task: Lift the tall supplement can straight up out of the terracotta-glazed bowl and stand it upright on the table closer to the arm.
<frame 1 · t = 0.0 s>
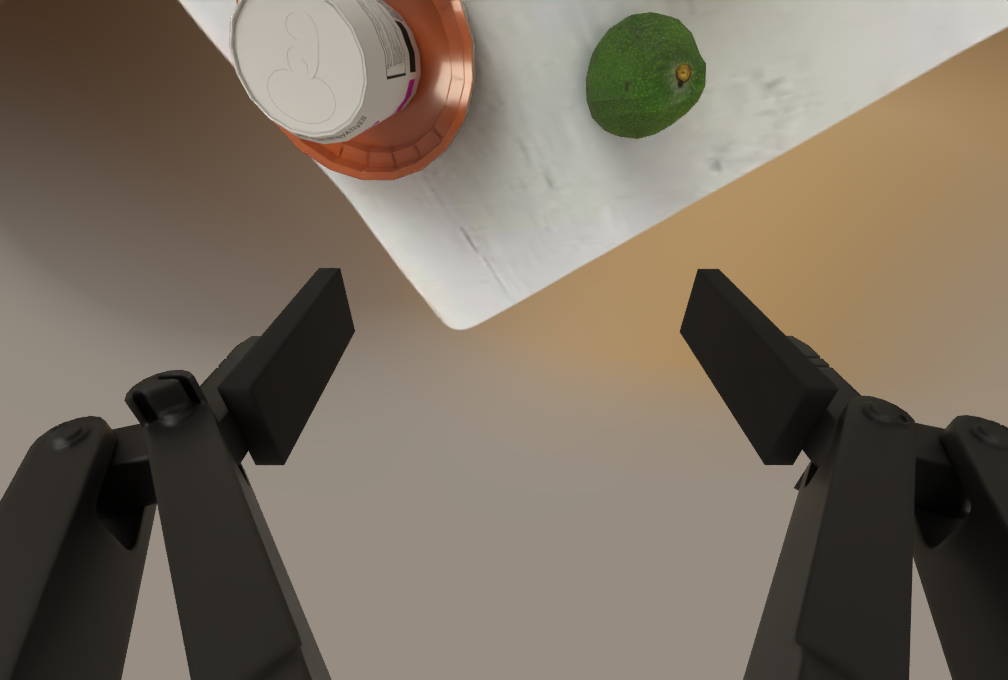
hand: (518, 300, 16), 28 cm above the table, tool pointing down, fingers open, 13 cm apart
bowl: (373, 60, 35), on the table
supplement can: (372, 60, 35), resting on bowl
avocado: (622, 75, 36), on the table
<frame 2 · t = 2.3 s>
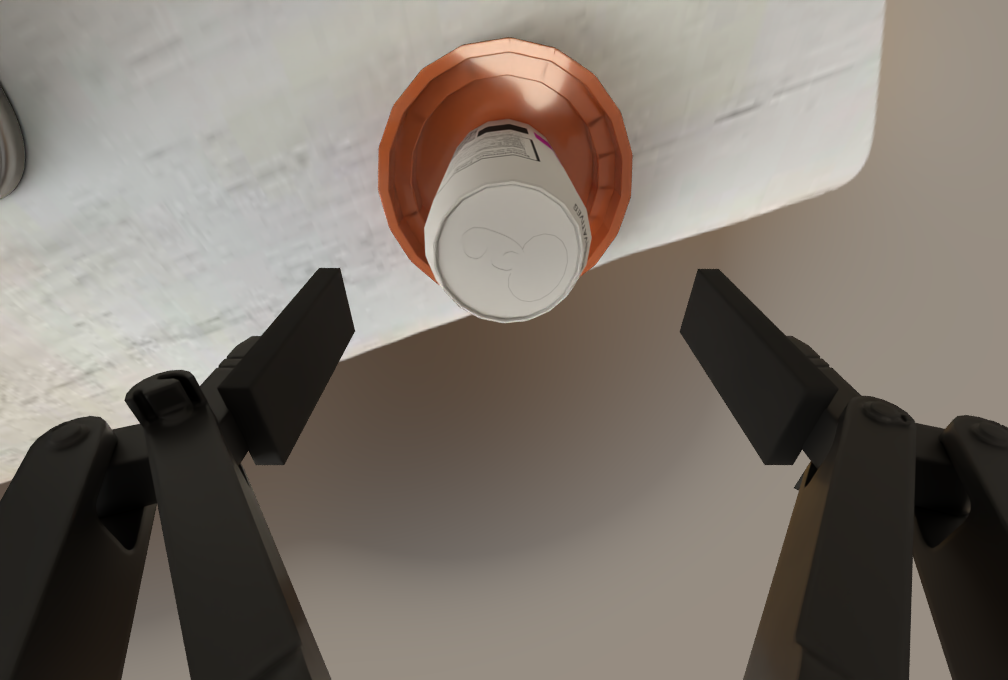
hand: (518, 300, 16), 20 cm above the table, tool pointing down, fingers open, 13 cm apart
bowl: (504, 177, 32), on the table
supplement can: (504, 177, 32), resting on bowl
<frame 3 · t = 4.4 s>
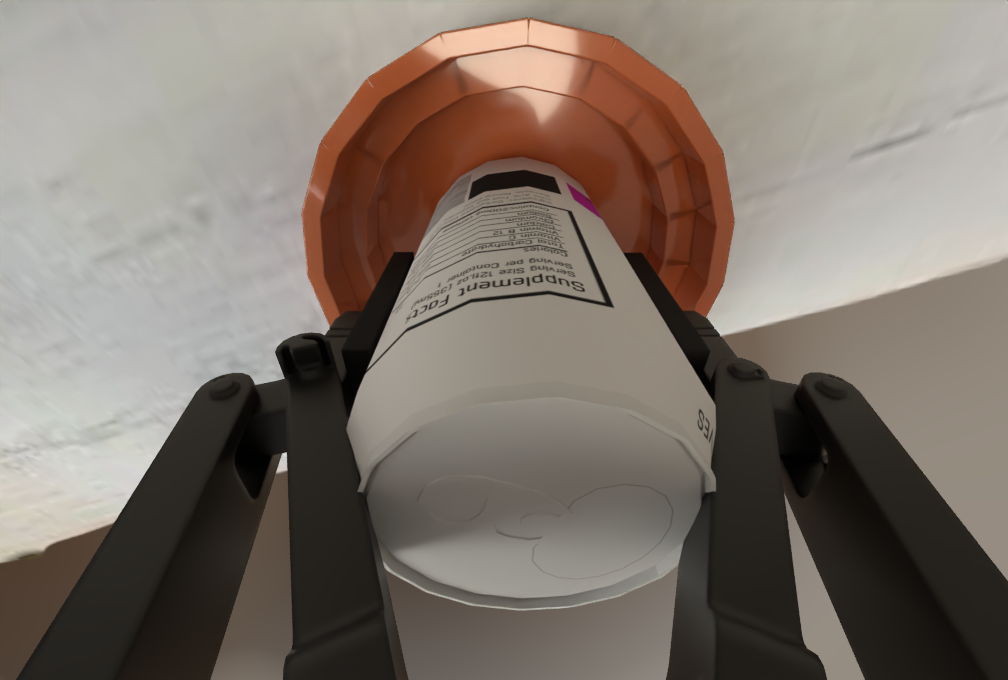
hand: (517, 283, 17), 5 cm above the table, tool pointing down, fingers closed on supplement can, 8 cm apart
bowl: (514, 240, 21), on the table
supplement can: (514, 241, 21), resting on bowl, touching gripper
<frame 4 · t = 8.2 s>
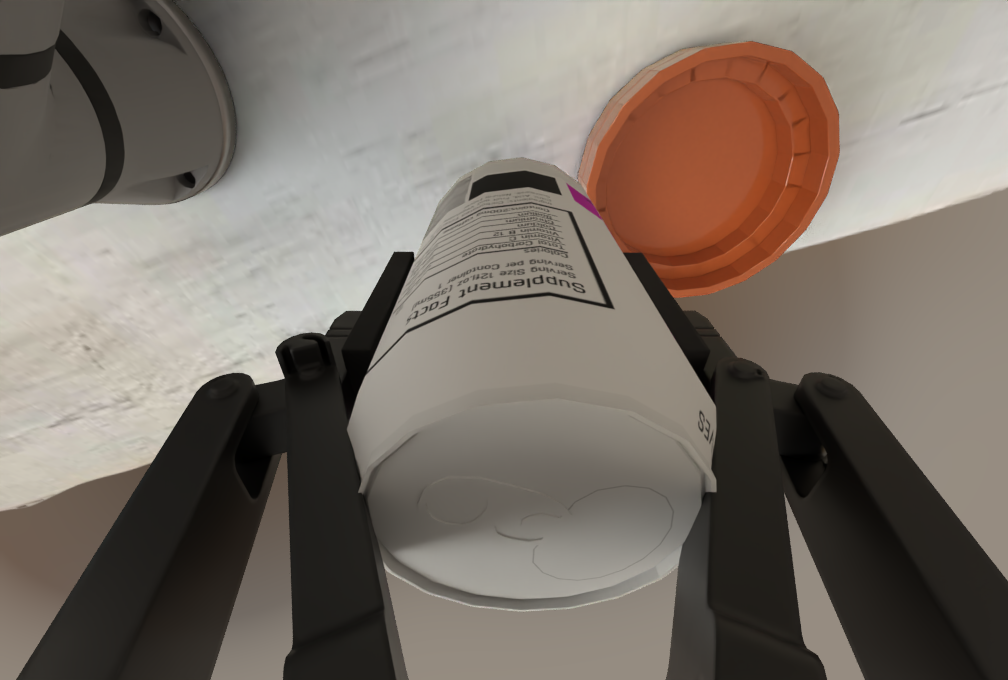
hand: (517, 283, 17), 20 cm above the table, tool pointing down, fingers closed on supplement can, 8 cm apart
bowl: (684, 175, 33), on the table
supplement can: (514, 242, 21), point 15 cm above the table, touching gripper
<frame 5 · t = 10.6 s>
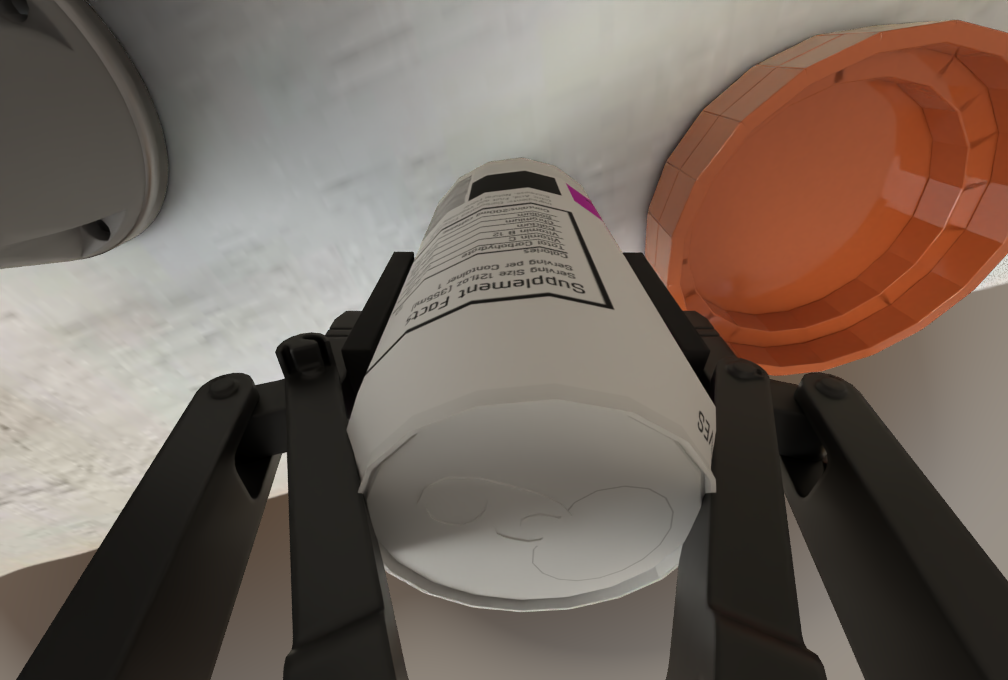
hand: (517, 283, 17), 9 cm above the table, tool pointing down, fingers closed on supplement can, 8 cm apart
bowl: (792, 211, 24), on the table
supplement can: (514, 242, 21), point 4 cm above the table, touching gripper
when the fingers open (4 cm above the table, at t = 12.2 s): supplement can stays where it is, on the table.
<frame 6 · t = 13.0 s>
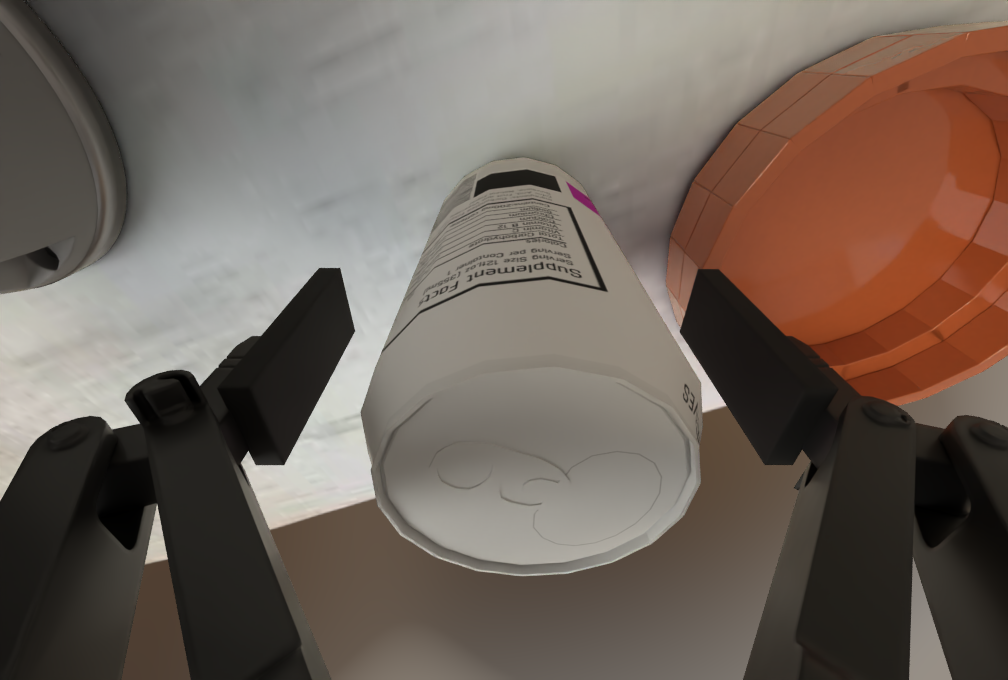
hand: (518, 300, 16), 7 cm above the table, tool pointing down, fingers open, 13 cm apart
bowl: (834, 236, 21), on the table
supplement can: (516, 238, 22), on the table
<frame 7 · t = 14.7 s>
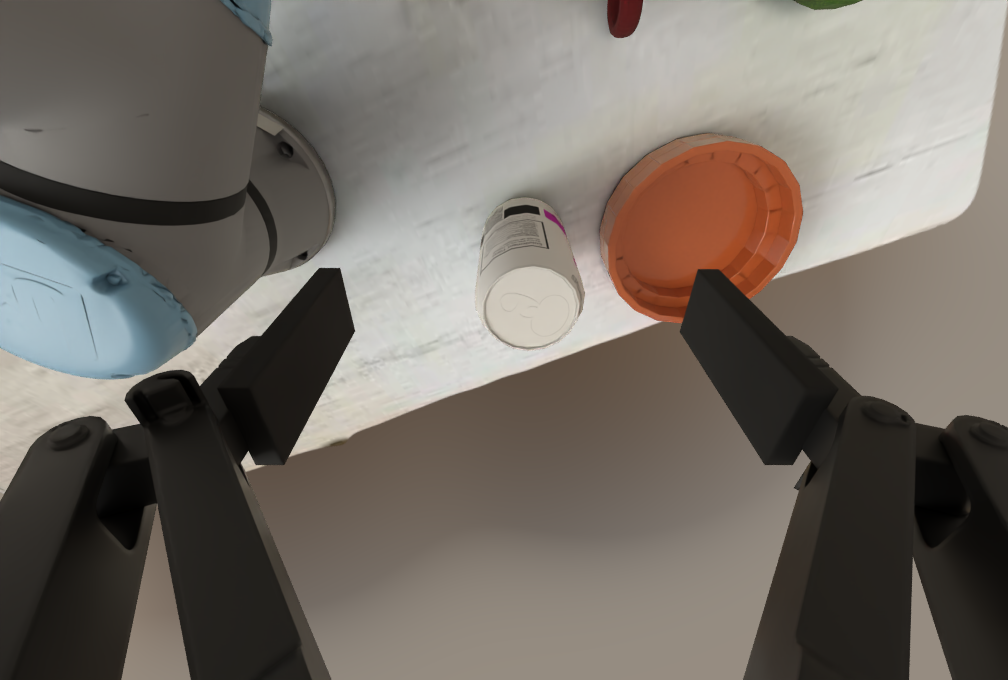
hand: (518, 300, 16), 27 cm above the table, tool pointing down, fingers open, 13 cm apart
bowl: (684, 227, 42), on the table
supplement can: (522, 235, 43), on the table
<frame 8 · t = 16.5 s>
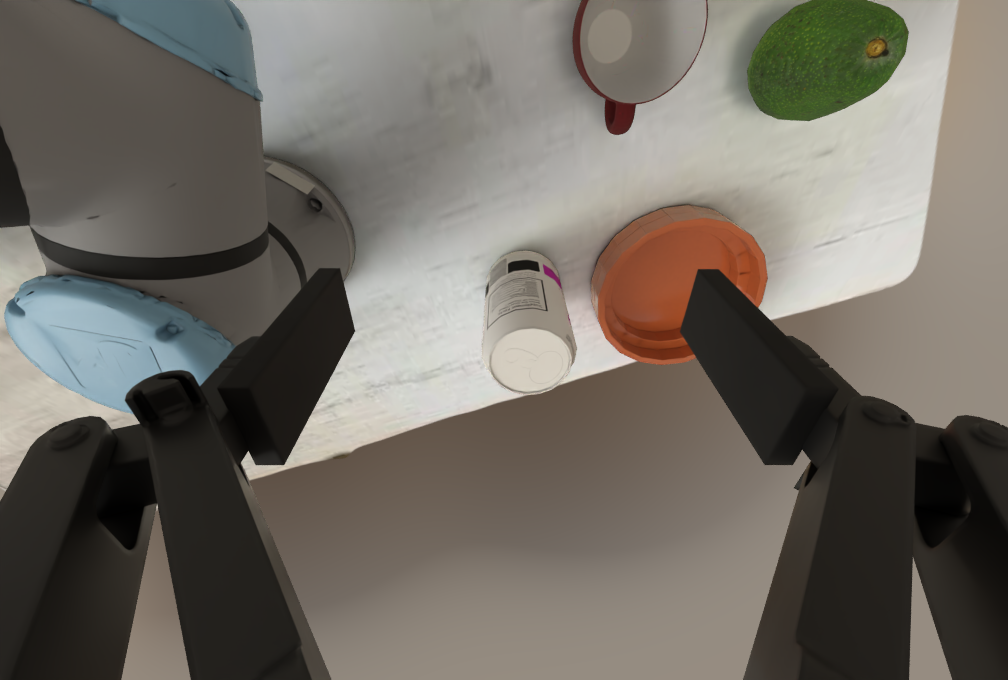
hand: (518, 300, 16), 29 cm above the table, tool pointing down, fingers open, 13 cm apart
mug: (609, 54, 35), on the table
bowl: (666, 280, 47), on the table
supplement can: (522, 281, 47), on the table
avocado: (773, 62, 36), on the table
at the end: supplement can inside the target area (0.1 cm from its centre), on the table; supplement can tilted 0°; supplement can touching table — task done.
